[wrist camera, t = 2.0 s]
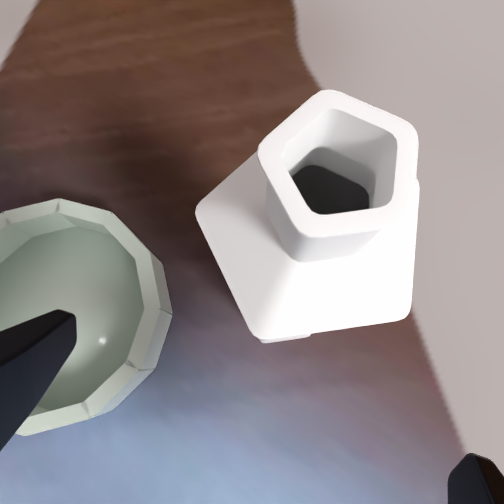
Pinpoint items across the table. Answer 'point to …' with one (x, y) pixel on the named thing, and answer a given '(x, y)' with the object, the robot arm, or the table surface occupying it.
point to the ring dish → (84, 303)
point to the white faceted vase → (320, 221)
